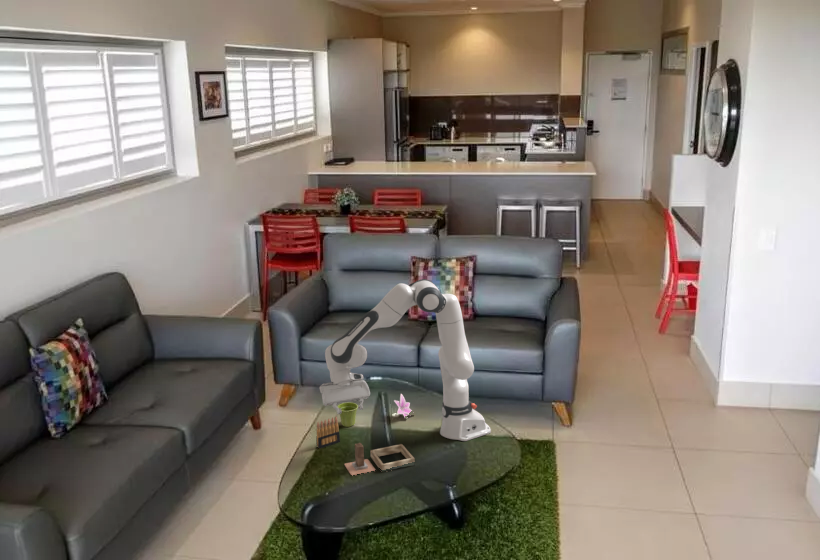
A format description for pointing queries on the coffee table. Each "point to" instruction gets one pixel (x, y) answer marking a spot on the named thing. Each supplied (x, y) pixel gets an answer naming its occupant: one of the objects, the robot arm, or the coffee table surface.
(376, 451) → the frame
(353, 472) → the terracotta tile
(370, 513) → the coffee table surface
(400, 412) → the lily
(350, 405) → the plant pot
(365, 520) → the coffee table surface
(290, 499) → the coffee table surface
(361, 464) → the wooden post
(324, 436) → the ammunition clip
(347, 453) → the coffee table surface
